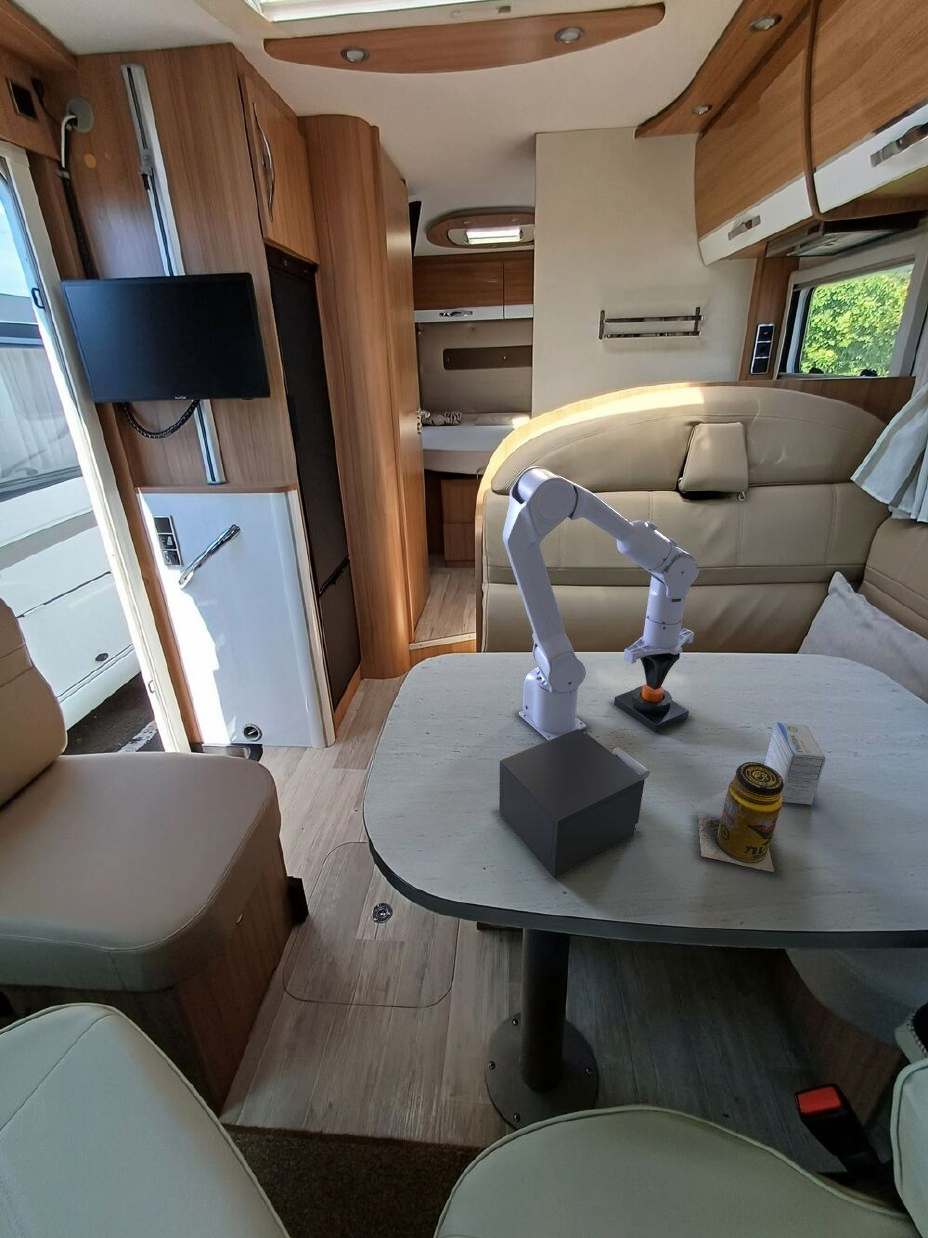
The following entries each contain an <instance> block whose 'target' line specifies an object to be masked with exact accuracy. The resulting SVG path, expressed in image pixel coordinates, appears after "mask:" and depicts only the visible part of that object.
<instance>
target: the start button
mask: <svg viewBox="0 0 928 1238" xmlns="http://www.w3.org/2000/svg"><path fill="white" fill-rule="evenodd" d="M664 690H665V688H663V687H662V686H661V687H660V688H659V689H656V690H654V689H652V688H651V687H649V686H647V684H646V683H645V684H644V686H643V689H642V698H644V699H645V700H647V701H651V702H660V701H662V699H663V694H664Z"/></svg>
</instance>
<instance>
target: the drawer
mask: <svg viewBox="0 0 928 1238" xmlns="http://www.w3.org/2000/svg"><path fill="white" fill-rule="evenodd" d="M584 734H585V735H587V736H588V737H589V738H590V739H592V740H593V741H594V742H595V743H597V744H598V745H599V746H600V747H602V748H603V749H604V750H605V751H607V752H608V753H609V754H611V755H612V756H613V757H614V758H616V759H617V760H618V761H619V762H621V763H622V764H623V765H624V766H626V767H627V768H628V769H629V770H631V771H632V772H633V773H634V774H636V775H637V776H638V777H639V778H641V779H642V784H641V785H642V786H641V793H640V800H639V806H638V813H637V819H636V825H637V824H639V820H640V813H641V807H642V802H643V801H642V799H643V794H644V787H645V781H646V779H648V777H649V776H650V774H651V772H650V770H649V769H648V768H646V767H645V766H644V765H642V764H641V763H640V762H638V761H637V760H636V759H634V758H633V757H632V756H630V755H629V754H628V753H627V752H626V751H624V750H623V749H622V748H620V747H619V746H617V747H614V749H613V750H612V752H611V751H610V750H609V749H608V748H606V747H605V746H604V745H602V744H601V743H600V742H598V741H597V740H596V739H595V738H593V737H592V736H591V735H590V734H588V733H586V732H585V733H584Z"/></svg>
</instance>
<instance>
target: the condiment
mask: <svg viewBox="0 0 928 1238" xmlns="http://www.w3.org/2000/svg"><path fill="white" fill-rule="evenodd" d="M735 770H736V771H735V775H734V776H733V779H732V780H731V781H730V783H729V784H728V788H727V792H726V796H725V800H724V805H723V809H722V812H721V816H720V817H721V818H717V817H711V816H709V815H704V814H697V818H698V819H697V821H698V833H699V845H700V846H699V847H700V855H701V857H703V858H709V859H713V860H719V861H722V862H728V863H732V864H736V865H739V866H743V867H749V868H752V869H756V870H762V871H766V872H771V873H772V872H775V869H774V865H773V861H772V857H771V852H770V844H771V843H772V838H773V835H774V832H775V828H776V826H777V821H778V818H779V815H780V812H781V809H782V804H783V802H782V798H781V793H782V789H783V787H784V783H783V779H782V777H781V776H780V775H779V773H778V772H777V771H775V770H774V769H772V768H771V767H769V766H767V765H765V763H760V762H757V761H756V762H755V761H747V762H744V763H742V764H740V765H739V766H738V767H737V768H736V769H735Z"/></svg>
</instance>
